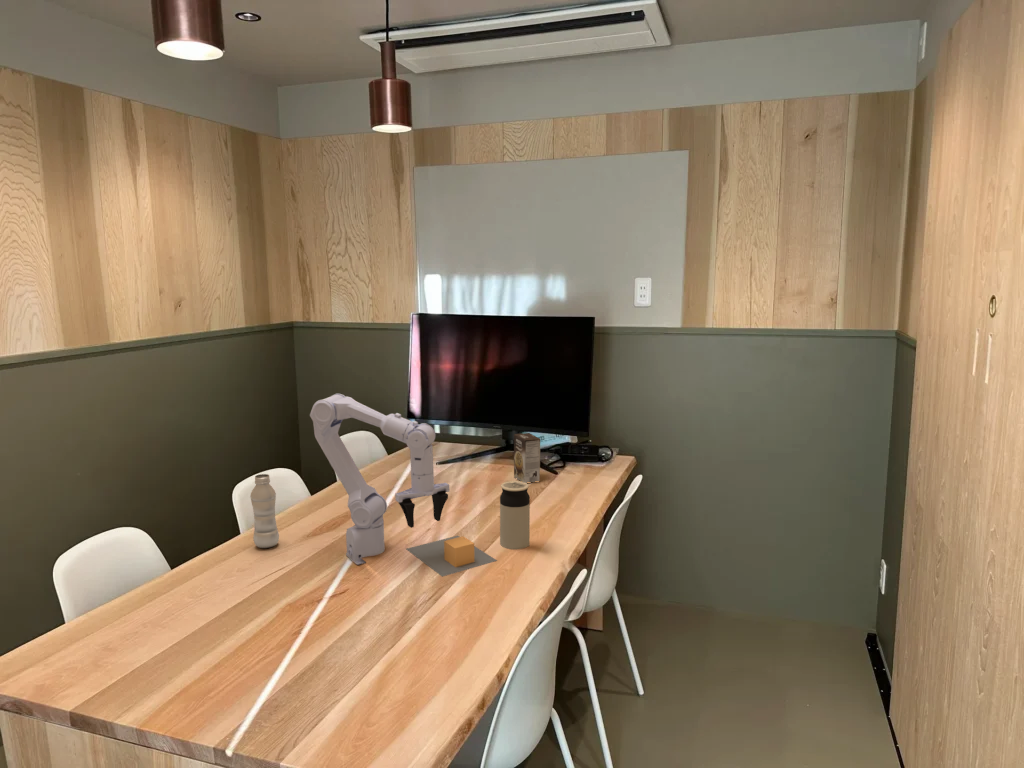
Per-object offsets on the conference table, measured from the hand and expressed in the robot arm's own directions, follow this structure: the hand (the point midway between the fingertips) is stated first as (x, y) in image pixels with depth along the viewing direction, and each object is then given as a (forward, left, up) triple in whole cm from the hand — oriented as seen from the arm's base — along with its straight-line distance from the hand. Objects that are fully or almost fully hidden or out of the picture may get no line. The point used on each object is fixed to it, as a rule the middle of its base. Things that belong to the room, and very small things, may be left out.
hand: (424, 523), depth 178 cm
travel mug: (+24, -7, -11) cm, 27 cm away
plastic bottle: (-31, +33, -11) cm, 47 cm away
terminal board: (+6, -3, -10) cm, 12 cm away
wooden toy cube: (+6, -8, -9) cm, 13 cm away
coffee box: (+62, +40, -11) cm, 74 cm away
